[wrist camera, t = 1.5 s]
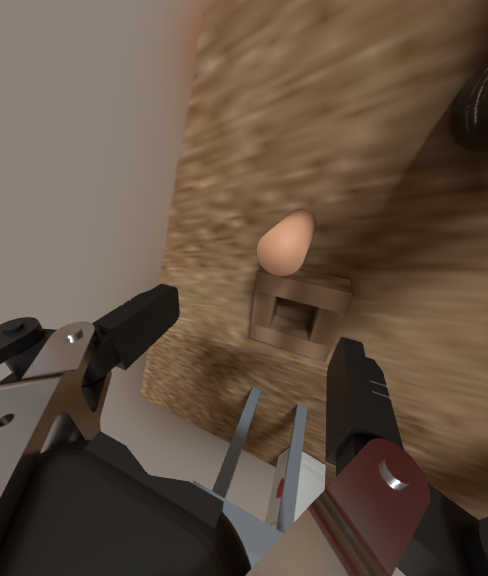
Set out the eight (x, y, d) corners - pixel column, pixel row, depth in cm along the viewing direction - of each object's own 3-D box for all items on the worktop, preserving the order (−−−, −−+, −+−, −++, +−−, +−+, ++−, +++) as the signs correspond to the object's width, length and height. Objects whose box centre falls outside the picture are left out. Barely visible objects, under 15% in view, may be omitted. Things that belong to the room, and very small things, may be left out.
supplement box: (292, 443, 50) (278, 529, 38) (326, 464, 49) (323, 560, 37) (277, 454, 55) (261, 534, 43) (308, 474, 54) (300, 561, 42)
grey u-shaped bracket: (327, 358, 35) (317, 595, 15) (305, 413, 43) (280, 610, 24) (260, 337, 38) (181, 507, 19) (252, 392, 47) (192, 548, 27)
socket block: (350, 279, 27) (352, 293, 24) (326, 344, 34) (325, 362, 30) (265, 261, 31) (256, 271, 28) (256, 323, 37) (249, 337, 34)
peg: (319, 211, 25) (310, 234, 15) (312, 242, 27) (299, 280, 17) (287, 207, 26) (259, 225, 16) (282, 237, 28) (254, 270, 18)
